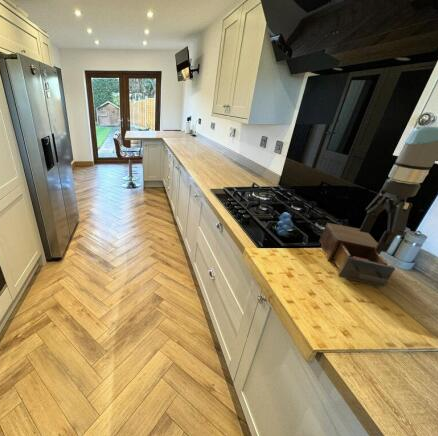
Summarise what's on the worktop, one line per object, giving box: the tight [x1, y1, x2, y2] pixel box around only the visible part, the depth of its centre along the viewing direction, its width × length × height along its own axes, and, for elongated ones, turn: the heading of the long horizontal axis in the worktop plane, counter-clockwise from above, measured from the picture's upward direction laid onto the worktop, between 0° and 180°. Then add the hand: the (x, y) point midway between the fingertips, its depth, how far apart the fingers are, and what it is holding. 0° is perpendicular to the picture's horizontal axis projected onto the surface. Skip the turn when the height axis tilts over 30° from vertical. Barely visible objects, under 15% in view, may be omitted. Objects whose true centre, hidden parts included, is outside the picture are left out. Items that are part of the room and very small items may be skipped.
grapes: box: [275, 211, 295, 237], centre depth 107 cm, size 12×7×12 cm, turn 165°
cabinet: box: [318, 222, 382, 263], centre depth 95 cm, size 16×14×10 cm
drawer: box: [332, 242, 396, 288], centre depth 83 cm, size 20×13×8 cm, turn 158°
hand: (371, 240), depth 81 cm, fingers open, 13 cm apart
